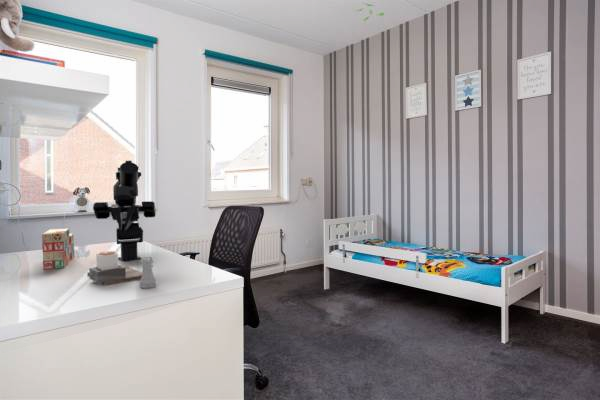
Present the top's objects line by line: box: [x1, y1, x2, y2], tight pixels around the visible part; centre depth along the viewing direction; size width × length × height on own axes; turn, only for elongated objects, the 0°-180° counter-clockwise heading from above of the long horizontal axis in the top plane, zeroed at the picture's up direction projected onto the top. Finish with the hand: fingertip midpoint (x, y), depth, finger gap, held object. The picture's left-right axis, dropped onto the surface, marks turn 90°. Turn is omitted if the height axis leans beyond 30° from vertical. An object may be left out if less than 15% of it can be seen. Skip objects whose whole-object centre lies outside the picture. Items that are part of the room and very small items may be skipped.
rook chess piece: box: [138, 256, 157, 289], centre depth 106 cm, size 4×4×8 cm
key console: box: [86, 264, 143, 287], centre depth 116 cm, size 16×14×4 cm
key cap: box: [95, 250, 119, 270], centre depth 111 cm, size 4×4×4 cm
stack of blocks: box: [41, 228, 75, 270], centre depth 138 cm, size 21×6×12 cm, turn 23°
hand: (122, 229), depth 124 cm, fingers closed
